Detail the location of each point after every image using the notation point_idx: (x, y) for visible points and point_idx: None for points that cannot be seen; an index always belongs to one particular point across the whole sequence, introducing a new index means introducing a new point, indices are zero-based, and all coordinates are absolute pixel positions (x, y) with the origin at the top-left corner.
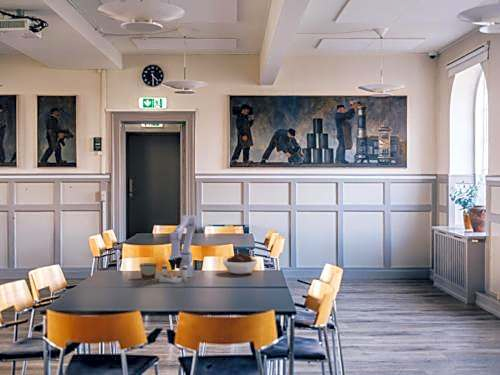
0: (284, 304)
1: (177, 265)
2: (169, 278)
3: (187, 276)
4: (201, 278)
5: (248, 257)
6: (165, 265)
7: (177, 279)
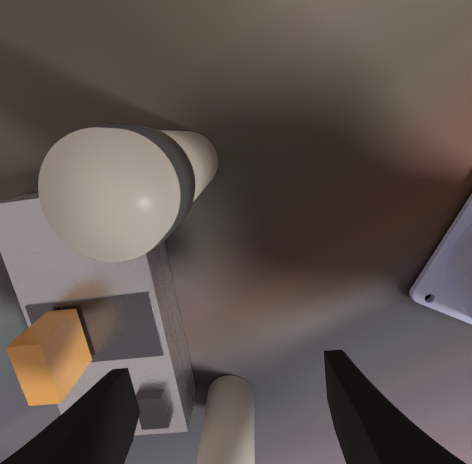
0: None
1: (341, 418)
2: None
3: (467, 322)
4: None
5: None
6: (82, 249)
7: None
